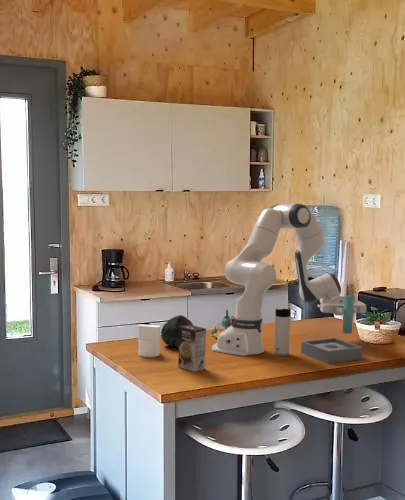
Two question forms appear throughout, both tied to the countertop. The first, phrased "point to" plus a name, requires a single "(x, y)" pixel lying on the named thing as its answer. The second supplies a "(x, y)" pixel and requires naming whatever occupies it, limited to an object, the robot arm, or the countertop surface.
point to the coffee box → (192, 347)
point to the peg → (348, 314)
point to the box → (331, 351)
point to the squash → (173, 330)
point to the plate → (331, 346)
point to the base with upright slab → (149, 340)
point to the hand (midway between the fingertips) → (349, 311)
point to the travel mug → (282, 332)
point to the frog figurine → (224, 323)
